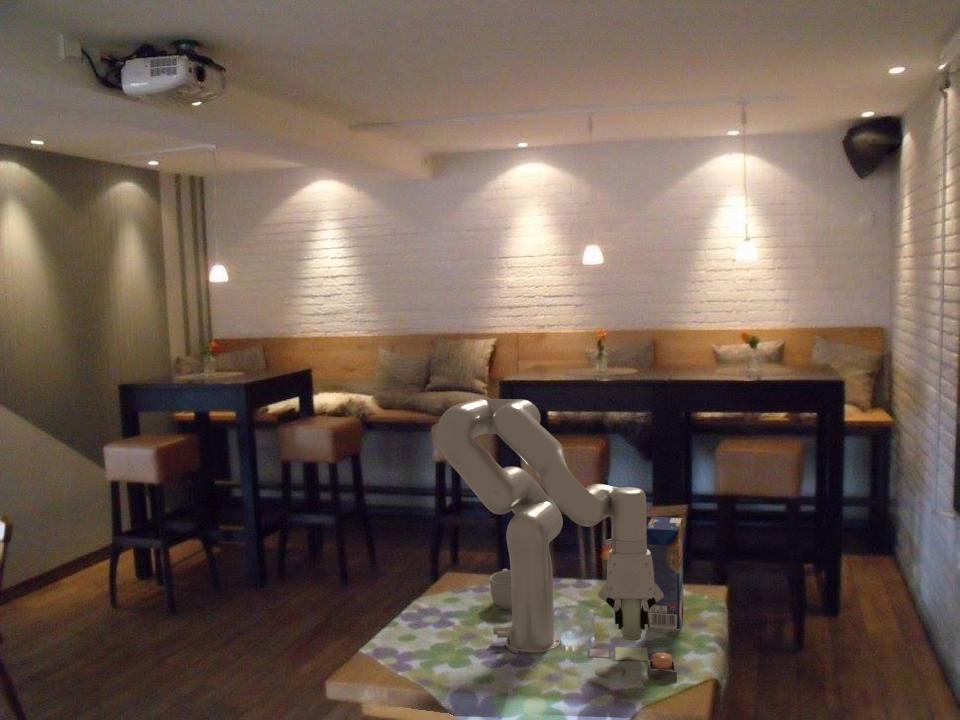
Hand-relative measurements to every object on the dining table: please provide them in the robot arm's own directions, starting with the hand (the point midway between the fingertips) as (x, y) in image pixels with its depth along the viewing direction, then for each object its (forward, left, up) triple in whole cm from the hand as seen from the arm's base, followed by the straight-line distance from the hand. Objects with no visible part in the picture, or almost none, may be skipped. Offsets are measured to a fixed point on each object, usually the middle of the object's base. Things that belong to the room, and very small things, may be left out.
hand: (631, 626), depth 199 cm
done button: (+6, -10, -5) cm, 12 cm away
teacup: (-30, +34, -8) cm, 46 cm away
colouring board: (-1, -5, -7) cm, 9 cm away
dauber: (0, 0, -2) cm, 2 cm away
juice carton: (+9, +24, -7) cm, 27 cm away
